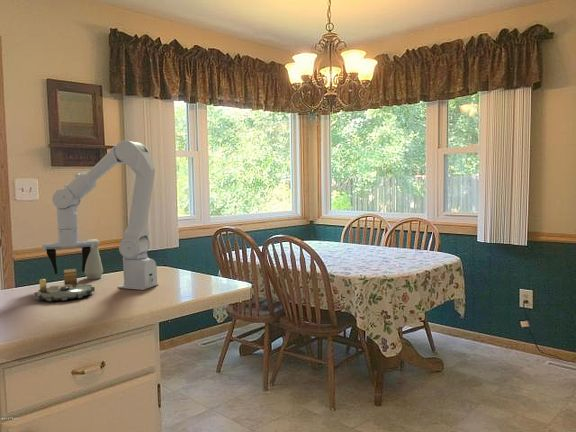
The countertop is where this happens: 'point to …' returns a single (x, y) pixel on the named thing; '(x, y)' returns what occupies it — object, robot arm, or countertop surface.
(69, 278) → the link block
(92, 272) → the salt shaker
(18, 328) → the countertop surface
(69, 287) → the sprocket
